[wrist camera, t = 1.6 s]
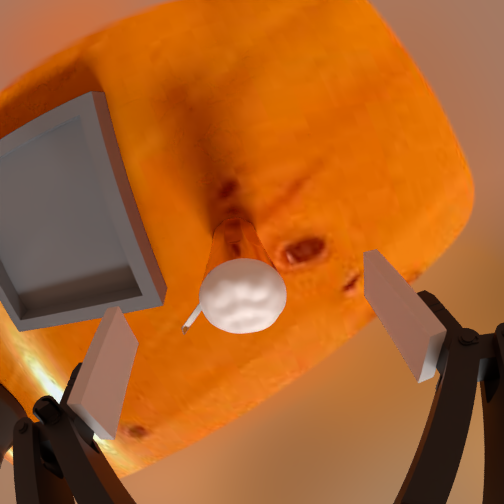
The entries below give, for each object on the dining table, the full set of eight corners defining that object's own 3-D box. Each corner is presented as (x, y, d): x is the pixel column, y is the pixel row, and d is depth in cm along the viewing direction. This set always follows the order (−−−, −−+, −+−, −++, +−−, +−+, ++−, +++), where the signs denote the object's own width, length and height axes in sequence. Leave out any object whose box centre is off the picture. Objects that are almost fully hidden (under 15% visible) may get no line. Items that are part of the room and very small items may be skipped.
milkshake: (188, 215, 22) (169, 292, 13) (261, 203, 22) (291, 273, 13) (200, 269, 24) (193, 363, 15) (268, 259, 24) (296, 348, 15)
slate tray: (29, 317, 25) (19, 331, 22) (-35, 169, 17) (-51, 177, 15) (167, 288, 25) (163, 305, 22) (104, 92, 17) (91, 90, 15)
